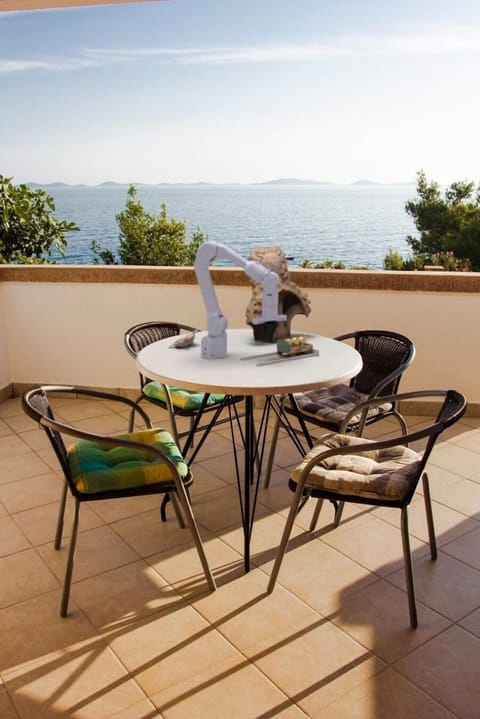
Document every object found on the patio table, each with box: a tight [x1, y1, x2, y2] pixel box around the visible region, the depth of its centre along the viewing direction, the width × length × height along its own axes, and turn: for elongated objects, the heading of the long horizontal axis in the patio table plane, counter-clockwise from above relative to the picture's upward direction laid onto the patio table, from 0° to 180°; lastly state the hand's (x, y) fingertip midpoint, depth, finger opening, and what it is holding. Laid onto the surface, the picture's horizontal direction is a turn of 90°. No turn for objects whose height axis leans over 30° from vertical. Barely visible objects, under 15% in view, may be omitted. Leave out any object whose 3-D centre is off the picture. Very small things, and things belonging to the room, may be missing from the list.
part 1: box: [284, 337, 292, 348], centre depth 252 cm, size 3×3×4 cm
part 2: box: [291, 336, 299, 348], centre depth 254 cm, size 3×3×4 cm
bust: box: [244, 244, 312, 344], centre depth 281 cm, size 34×18×40 cm, turn 130°
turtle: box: [168, 329, 199, 348], centre depth 272 cm, size 16×10×10 cm, turn 4°
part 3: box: [297, 335, 307, 347], centre depth 256 cm, size 3×3×4 cm
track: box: [239, 348, 320, 367], centre depth 251 cm, size 29×12×3 cm, turn 126°
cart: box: [276, 340, 314, 358], centre depth 254 cm, size 12×9×6 cm
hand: (269, 341), depth 249 cm, fingers closed
